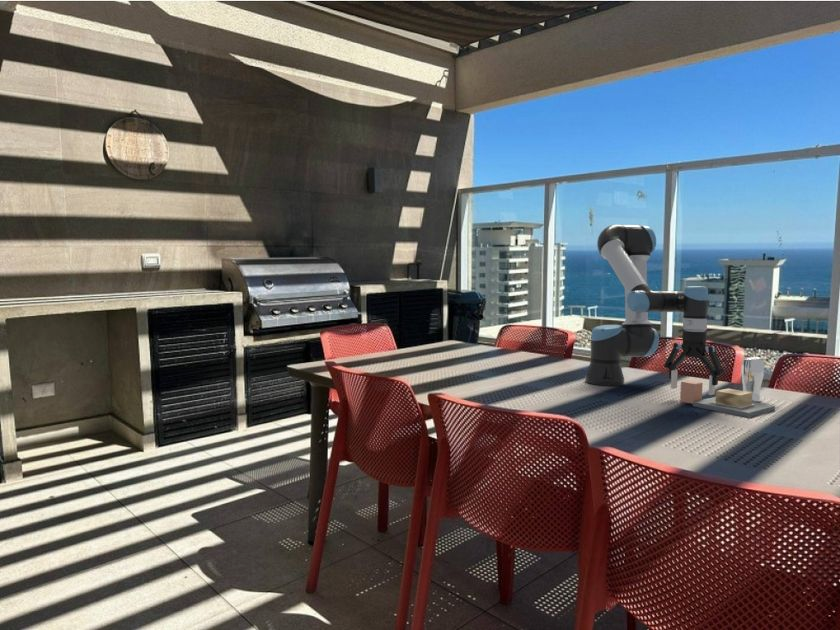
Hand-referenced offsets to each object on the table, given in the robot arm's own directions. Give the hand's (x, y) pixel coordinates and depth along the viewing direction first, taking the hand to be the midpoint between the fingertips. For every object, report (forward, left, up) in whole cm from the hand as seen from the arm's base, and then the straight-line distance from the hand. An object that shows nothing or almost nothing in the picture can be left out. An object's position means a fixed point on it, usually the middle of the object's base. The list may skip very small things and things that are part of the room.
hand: (692, 391), depth 198 cm
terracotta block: (0, 0, -4) cm, 4 cm away
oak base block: (+13, +3, -2) cm, 13 cm away
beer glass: (+10, +22, -4) cm, 24 cm away
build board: (+13, +3, -4) cm, 14 cm away
